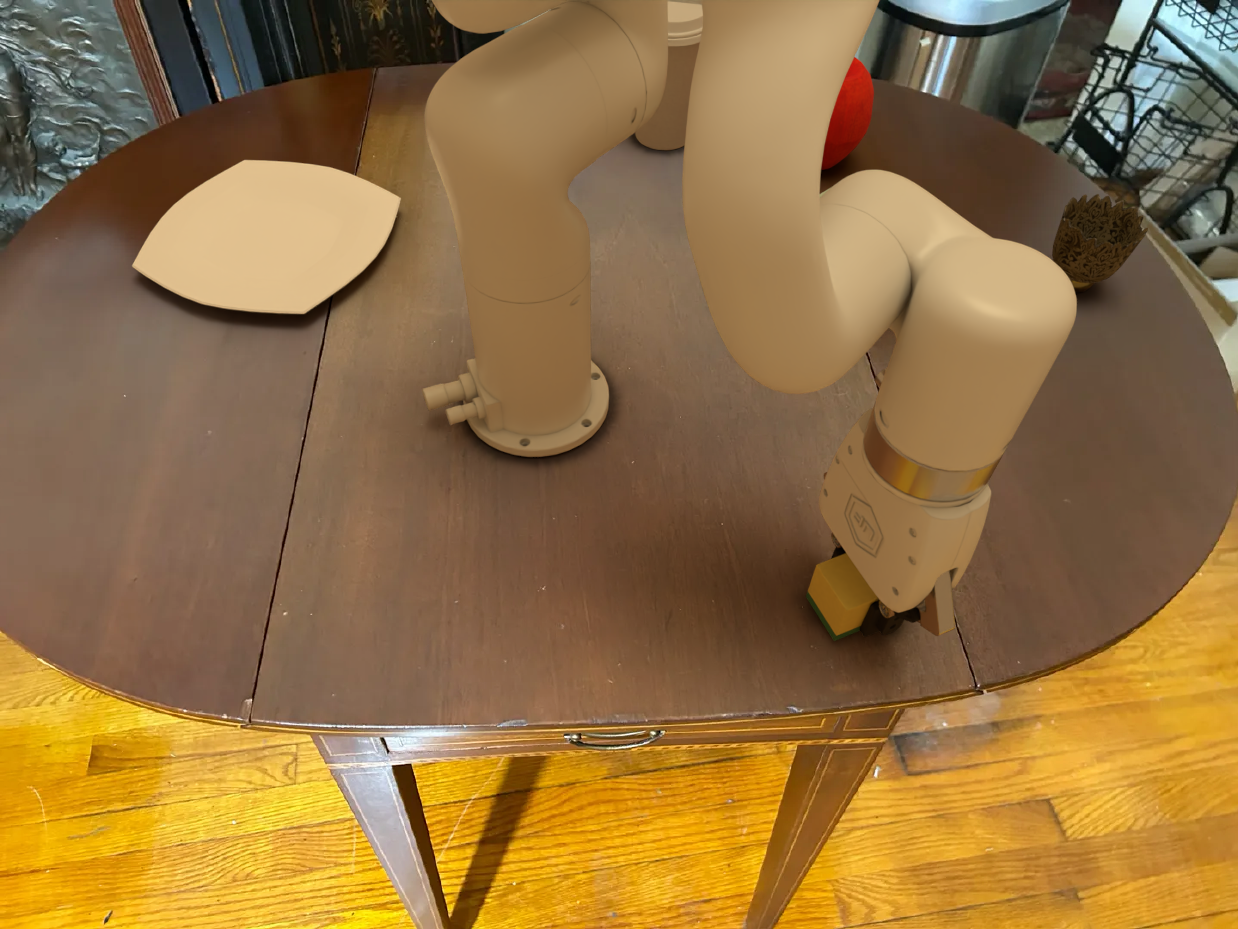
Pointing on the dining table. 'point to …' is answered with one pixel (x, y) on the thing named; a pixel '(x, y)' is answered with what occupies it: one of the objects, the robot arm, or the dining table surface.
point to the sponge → (840, 596)
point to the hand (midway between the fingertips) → (861, 599)
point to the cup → (1095, 239)
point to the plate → (269, 237)
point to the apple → (849, 115)
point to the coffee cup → (676, 77)
